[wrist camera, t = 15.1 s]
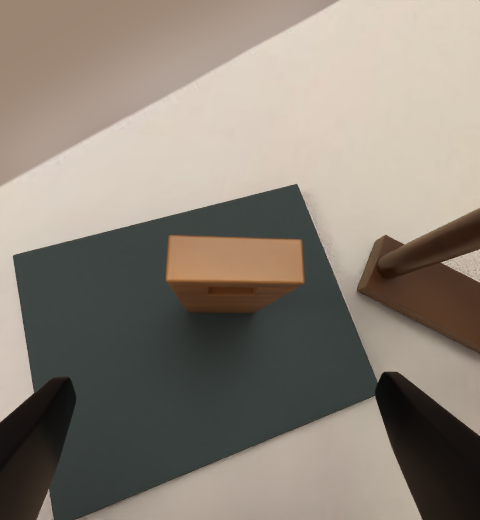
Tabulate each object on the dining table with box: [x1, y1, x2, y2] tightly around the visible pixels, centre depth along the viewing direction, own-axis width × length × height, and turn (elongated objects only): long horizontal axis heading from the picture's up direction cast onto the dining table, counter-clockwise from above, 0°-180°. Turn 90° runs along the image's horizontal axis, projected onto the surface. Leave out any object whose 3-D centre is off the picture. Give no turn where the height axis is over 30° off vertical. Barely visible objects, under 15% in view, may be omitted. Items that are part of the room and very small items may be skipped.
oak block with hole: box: [166, 235, 305, 313], centre depth 13 cm, size 1×4×9 cm, turn 90°
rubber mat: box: [13, 184, 378, 520], centre depth 18 cm, size 18×14×1 cm
